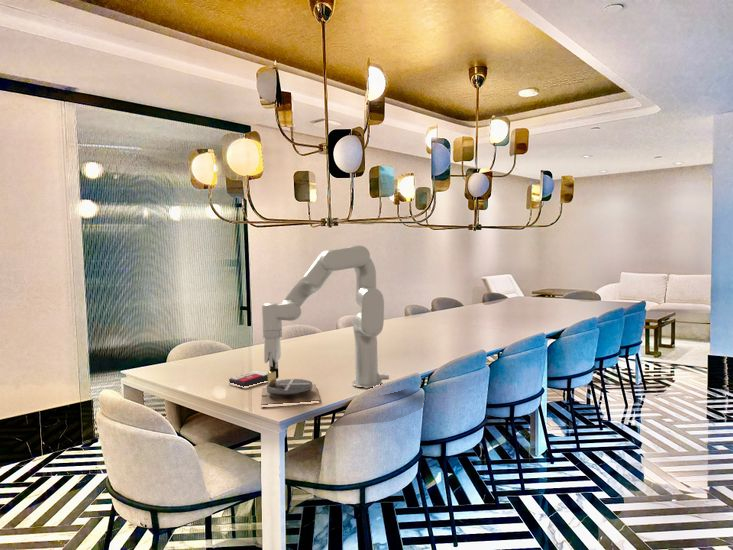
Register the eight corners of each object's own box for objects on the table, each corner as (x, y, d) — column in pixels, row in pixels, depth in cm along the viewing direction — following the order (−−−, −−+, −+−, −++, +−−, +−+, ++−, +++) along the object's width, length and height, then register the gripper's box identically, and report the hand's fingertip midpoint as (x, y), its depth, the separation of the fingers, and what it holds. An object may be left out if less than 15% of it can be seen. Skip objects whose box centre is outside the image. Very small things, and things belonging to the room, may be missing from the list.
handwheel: (315, 386, 211) (314, 365, 210) (309, 399, 193) (308, 377, 192) (272, 386, 211) (271, 366, 211) (262, 400, 193) (261, 377, 193)
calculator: (228, 377, 223) (256, 368, 234) (229, 386, 224) (257, 377, 235) (243, 381, 216) (271, 372, 227) (244, 391, 216) (272, 381, 227)
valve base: (315, 387, 215) (315, 383, 215) (320, 403, 193) (319, 398, 193) (262, 391, 211) (262, 387, 211) (261, 408, 190) (260, 403, 190)
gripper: (267, 330, 213) (269, 373, 214) (258, 337, 198) (260, 383, 199) (285, 330, 212) (286, 373, 213) (277, 336, 197) (279, 383, 199)
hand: (274, 378), depth 206 cm, fingers closed
